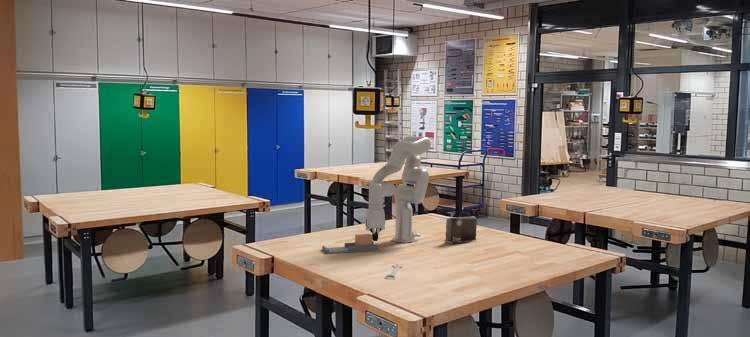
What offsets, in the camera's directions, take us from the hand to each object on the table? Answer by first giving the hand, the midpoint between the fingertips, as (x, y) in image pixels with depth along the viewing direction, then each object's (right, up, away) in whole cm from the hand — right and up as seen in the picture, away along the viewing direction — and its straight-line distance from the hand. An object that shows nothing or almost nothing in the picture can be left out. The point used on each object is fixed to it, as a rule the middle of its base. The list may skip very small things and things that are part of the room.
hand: (375, 240), depth 311 cm
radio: (+49, -3, +22) cm, 54 cm away
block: (-6, -3, -2) cm, 7 cm away
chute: (-13, -4, -4) cm, 14 cm away
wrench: (+9, -9, -45) cm, 47 cm away
